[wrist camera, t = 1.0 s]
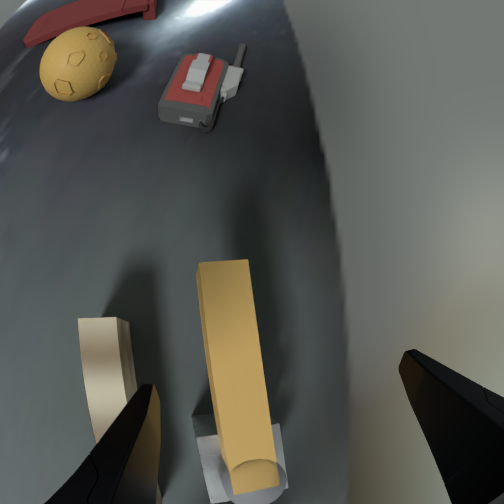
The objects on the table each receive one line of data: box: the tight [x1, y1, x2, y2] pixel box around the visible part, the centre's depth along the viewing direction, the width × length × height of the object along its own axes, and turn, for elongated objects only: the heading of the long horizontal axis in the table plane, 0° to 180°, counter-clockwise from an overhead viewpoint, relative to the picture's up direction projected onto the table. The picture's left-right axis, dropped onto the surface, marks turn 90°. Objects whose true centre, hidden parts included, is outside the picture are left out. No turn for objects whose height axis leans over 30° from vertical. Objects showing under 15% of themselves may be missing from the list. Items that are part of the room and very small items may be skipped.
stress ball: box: [40, 27, 117, 101], centre depth 26 cm, size 10×10×10 cm
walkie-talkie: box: [158, 43, 246, 133], centre depth 34 cm, size 9×4×20 cm
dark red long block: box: [23, 0, 157, 48], centre depth 35 cm, size 12×5×25 cm
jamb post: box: [192, 413, 288, 504], centre depth 21 cm, size 6×6×7 cm
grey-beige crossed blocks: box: [78, 317, 162, 504], centre depth 17 cm, size 18×6×10 cm, turn 8°
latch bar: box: [196, 259, 287, 504], centre depth 18 cm, size 16×4×3 cm, turn 8°
